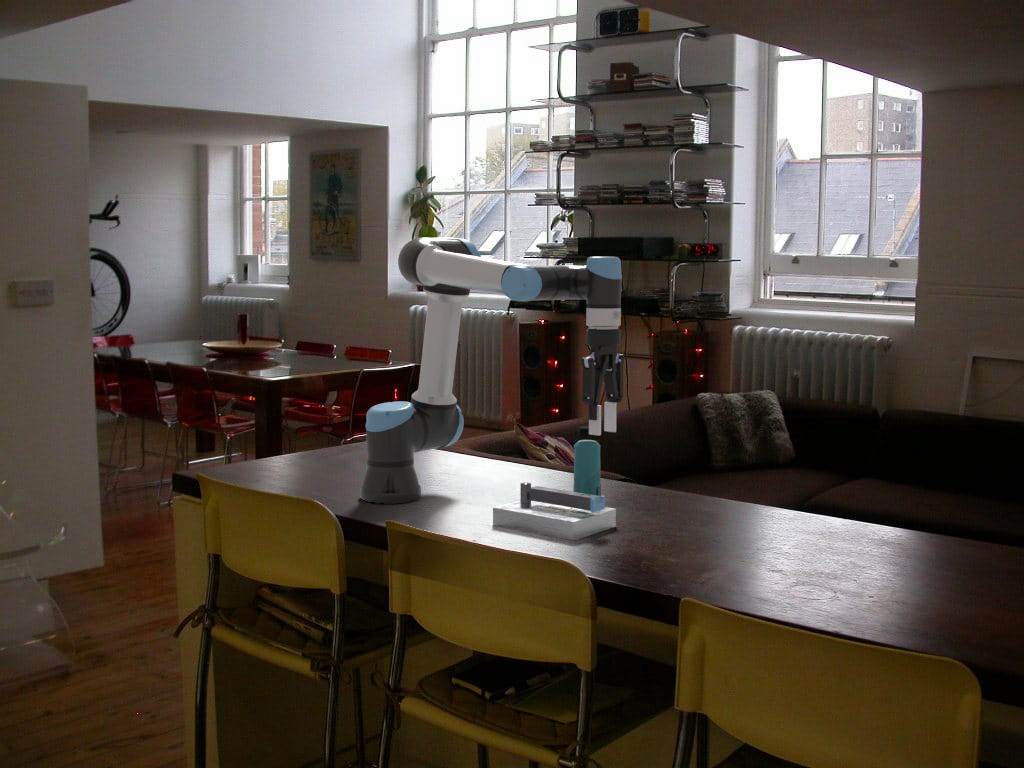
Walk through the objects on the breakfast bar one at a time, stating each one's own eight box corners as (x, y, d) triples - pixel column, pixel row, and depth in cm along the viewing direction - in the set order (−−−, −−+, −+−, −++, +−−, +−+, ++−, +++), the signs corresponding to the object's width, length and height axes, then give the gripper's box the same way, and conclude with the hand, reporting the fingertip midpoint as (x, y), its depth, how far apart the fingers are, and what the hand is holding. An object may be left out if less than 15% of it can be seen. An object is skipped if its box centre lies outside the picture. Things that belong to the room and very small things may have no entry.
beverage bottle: (599, 514, 255) (599, 429, 253) (570, 512, 256) (571, 428, 254) (602, 508, 261) (603, 425, 259) (574, 506, 263) (575, 424, 260)
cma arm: (527, 500, 245) (527, 488, 245) (539, 497, 248) (539, 485, 248) (593, 512, 234) (593, 499, 234) (604, 508, 237) (605, 495, 237)
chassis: (492, 525, 244) (492, 487, 243) (536, 512, 257) (536, 476, 256) (573, 540, 231) (573, 500, 230) (615, 526, 243) (615, 488, 242)
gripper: (593, 330, 230) (593, 440, 232) (640, 326, 244) (639, 429, 247) (564, 329, 235) (564, 436, 237) (612, 325, 249) (611, 426, 251)
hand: (602, 432), depth 242 cm, fingers open, 5 cm apart
